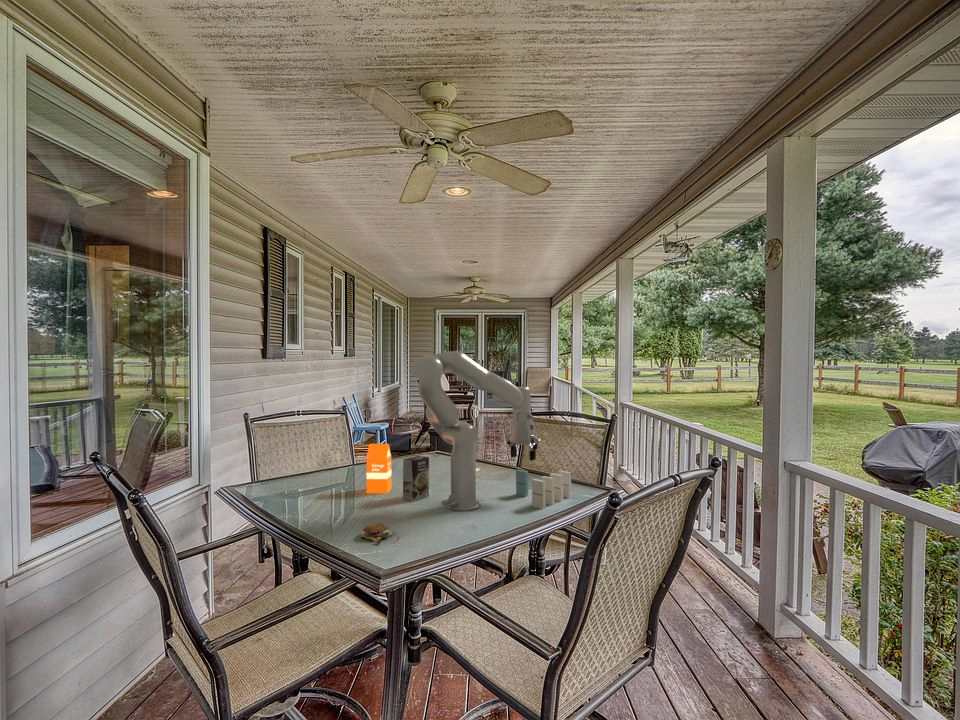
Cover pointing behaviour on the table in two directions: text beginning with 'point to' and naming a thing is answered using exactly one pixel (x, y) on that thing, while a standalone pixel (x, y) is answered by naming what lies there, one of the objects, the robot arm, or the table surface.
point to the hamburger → (376, 532)
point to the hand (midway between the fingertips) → (523, 458)
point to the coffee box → (415, 478)
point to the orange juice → (378, 468)
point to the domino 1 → (522, 482)
